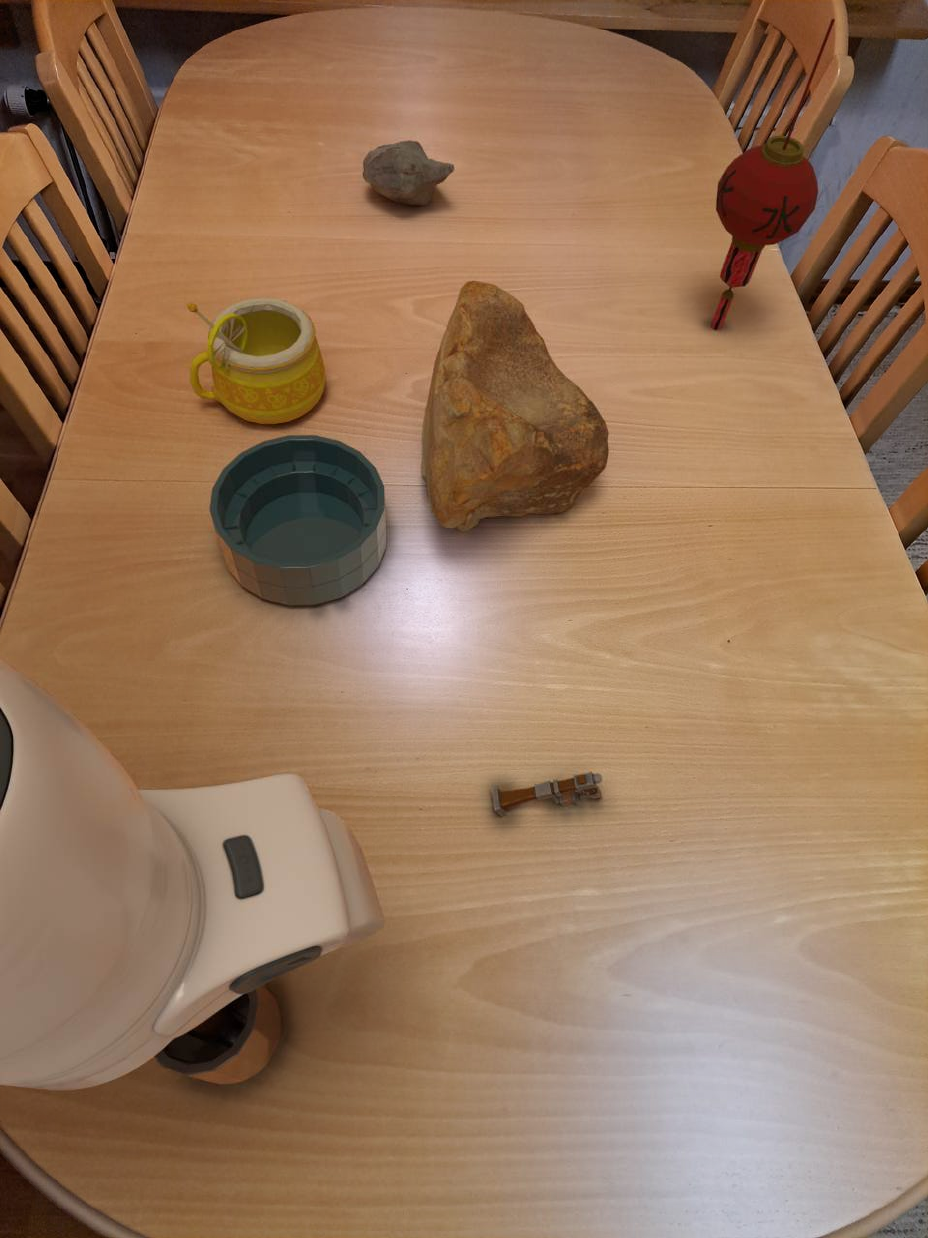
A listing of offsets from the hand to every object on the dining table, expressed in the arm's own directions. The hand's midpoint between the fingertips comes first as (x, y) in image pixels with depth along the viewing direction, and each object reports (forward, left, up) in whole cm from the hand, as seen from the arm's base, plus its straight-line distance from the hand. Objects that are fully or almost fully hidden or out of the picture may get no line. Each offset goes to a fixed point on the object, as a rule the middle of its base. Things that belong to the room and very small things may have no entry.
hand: (179, 994), depth 39 cm
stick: (0, 0, -15) cm, 15 cm away
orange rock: (+35, +37, -16) cm, 53 cm away
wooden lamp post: (+25, +7, -16) cm, 30 cm away
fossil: (+41, +82, -16) cm, 93 cm away
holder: (0, 0, -16) cm, 16 cm away
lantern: (+66, +50, -16) cm, 84 cm away
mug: (+16, +55, -16) cm, 59 cm away
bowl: (+15, +36, -16) cm, 42 cm away
